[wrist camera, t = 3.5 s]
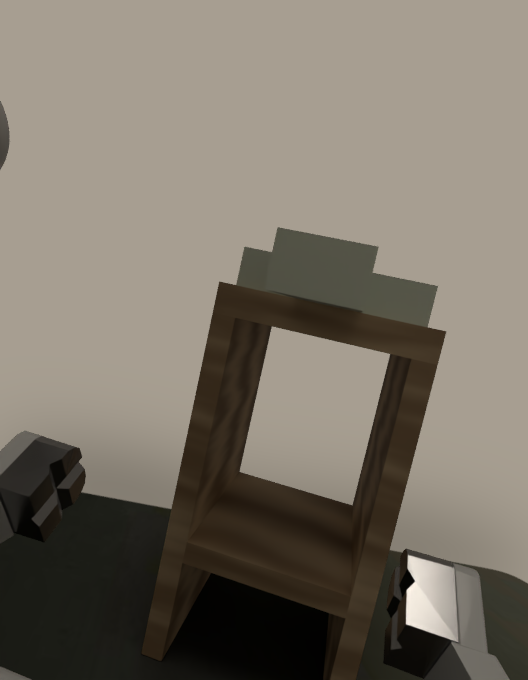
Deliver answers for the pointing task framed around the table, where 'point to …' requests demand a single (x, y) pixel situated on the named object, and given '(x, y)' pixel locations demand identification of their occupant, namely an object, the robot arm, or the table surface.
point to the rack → (282, 501)
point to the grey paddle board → (334, 277)
